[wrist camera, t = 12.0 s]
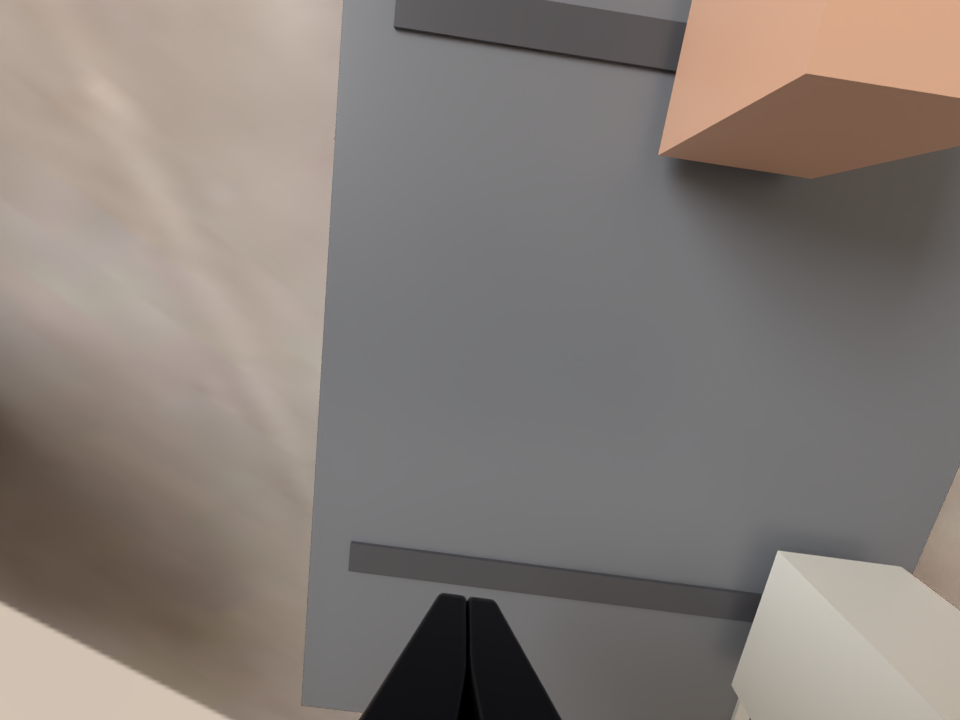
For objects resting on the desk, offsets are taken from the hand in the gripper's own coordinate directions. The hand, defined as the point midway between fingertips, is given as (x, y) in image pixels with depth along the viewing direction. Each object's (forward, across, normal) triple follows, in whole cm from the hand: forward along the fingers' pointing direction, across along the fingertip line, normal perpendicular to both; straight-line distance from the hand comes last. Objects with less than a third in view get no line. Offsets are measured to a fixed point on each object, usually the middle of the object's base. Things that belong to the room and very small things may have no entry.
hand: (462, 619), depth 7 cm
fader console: (+7, -4, -4) cm, 9 cm away
